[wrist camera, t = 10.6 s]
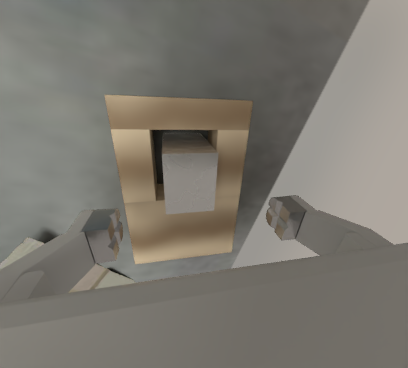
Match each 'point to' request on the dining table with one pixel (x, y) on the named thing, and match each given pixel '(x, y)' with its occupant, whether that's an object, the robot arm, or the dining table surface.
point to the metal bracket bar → (188, 173)
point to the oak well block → (154, 193)
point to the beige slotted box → (91, 280)
